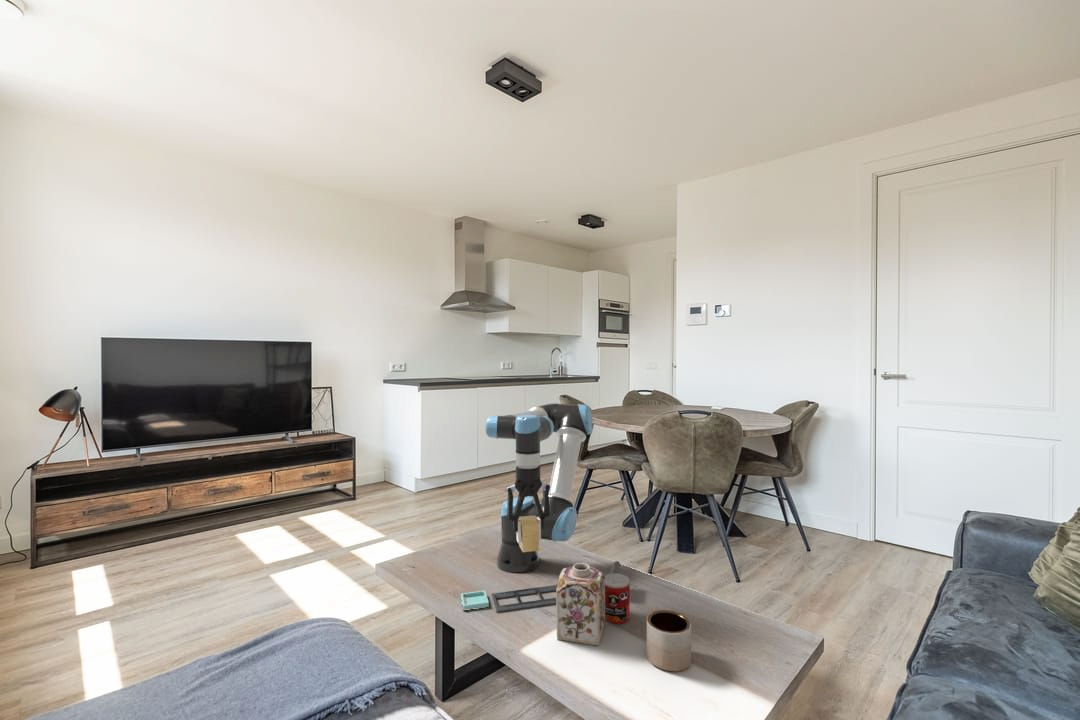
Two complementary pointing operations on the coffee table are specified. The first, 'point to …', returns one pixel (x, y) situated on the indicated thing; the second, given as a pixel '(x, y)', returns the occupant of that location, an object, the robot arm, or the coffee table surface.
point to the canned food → (617, 598)
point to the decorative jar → (580, 604)
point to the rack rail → (524, 604)
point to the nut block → (529, 533)
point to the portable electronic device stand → (615, 568)
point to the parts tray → (475, 600)
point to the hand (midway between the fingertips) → (528, 540)
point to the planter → (668, 640)
